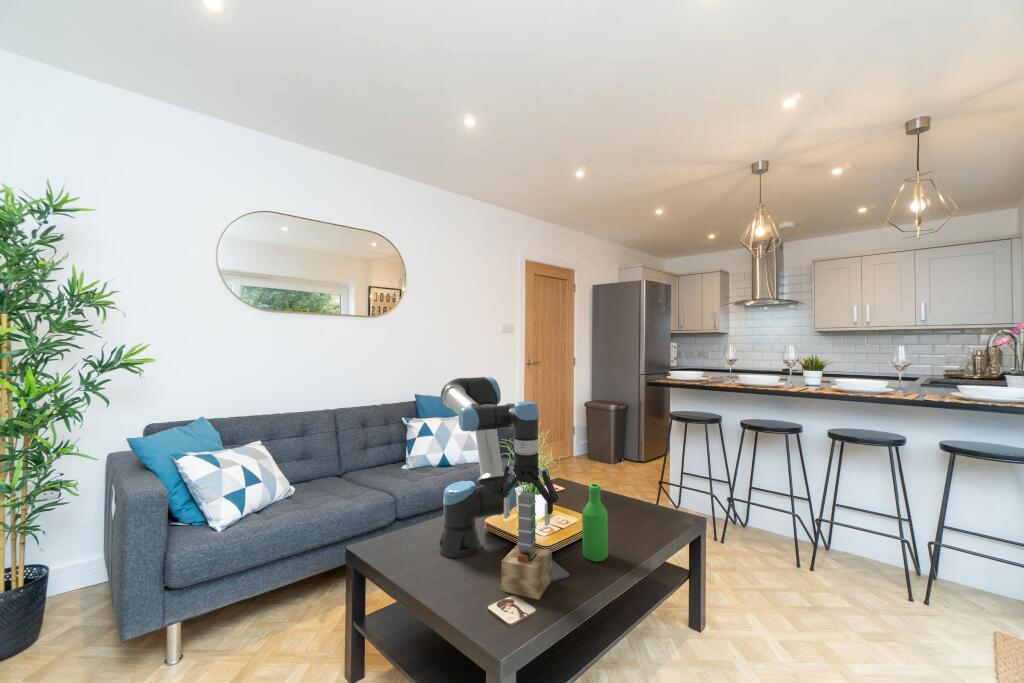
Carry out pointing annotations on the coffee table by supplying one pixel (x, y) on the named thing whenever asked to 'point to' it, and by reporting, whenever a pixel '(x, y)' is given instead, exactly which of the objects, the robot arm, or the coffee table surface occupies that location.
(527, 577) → the housing
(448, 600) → the coffee table surface
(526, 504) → the column
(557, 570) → the smartphone
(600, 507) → the bottle
